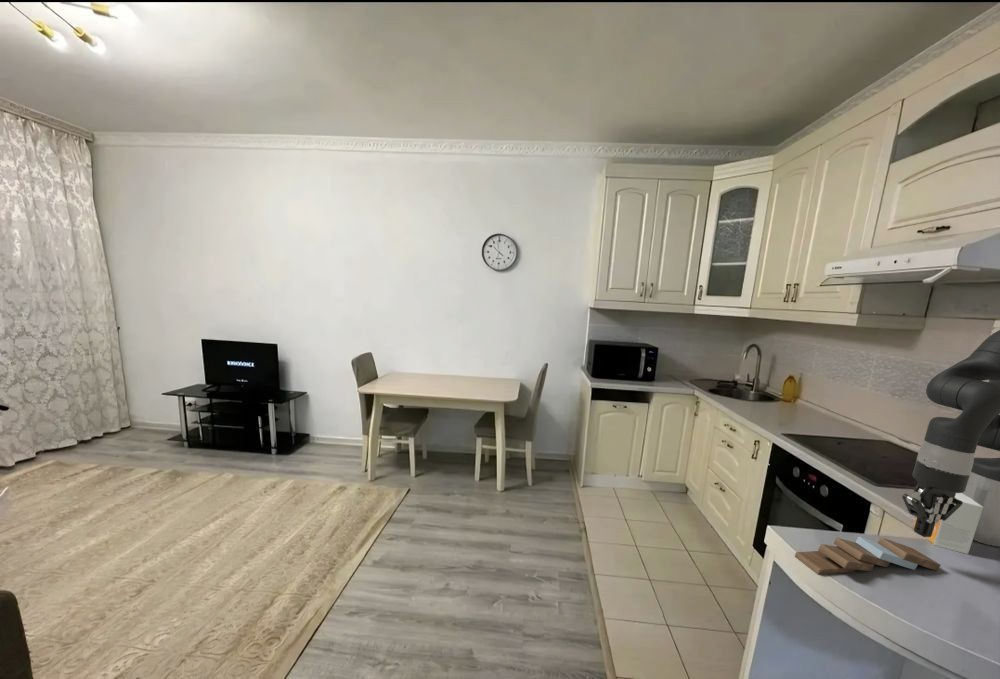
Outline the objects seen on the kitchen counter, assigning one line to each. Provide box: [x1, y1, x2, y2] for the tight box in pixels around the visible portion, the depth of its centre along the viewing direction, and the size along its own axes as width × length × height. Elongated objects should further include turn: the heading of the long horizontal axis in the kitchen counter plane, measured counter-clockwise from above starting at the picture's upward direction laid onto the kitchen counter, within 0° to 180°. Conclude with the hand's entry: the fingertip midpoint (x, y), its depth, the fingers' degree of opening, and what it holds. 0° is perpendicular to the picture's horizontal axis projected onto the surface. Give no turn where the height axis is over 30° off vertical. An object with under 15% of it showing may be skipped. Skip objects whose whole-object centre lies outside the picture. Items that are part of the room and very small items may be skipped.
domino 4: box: [855, 536, 918, 571], centre depth 81 cm, size 2×5×10 cm
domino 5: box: [877, 537, 941, 571], centre depth 81 cm, size 2×5×10 cm
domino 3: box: [833, 537, 891, 568], centre depth 80 cm, size 2×5×10 cm
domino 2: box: [817, 543, 875, 572], centre depth 78 cm, size 2×5×10 cm
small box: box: [913, 493, 983, 555], centre depth 90 cm, size 8×6×13 cm
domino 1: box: [794, 550, 856, 576], centre depth 79 cm, size 2×5×10 cm
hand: (921, 534), depth 81 cm, fingers closed
